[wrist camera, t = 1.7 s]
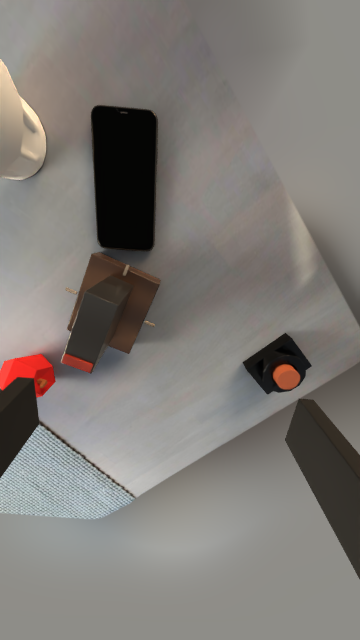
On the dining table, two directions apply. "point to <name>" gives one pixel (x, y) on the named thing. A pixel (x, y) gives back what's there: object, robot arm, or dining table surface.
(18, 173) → the cup
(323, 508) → the robot arm
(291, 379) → the button
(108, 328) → the dark grey block
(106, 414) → the dining table surface
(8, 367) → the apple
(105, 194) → the smartphone
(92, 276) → the base
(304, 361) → the button block
